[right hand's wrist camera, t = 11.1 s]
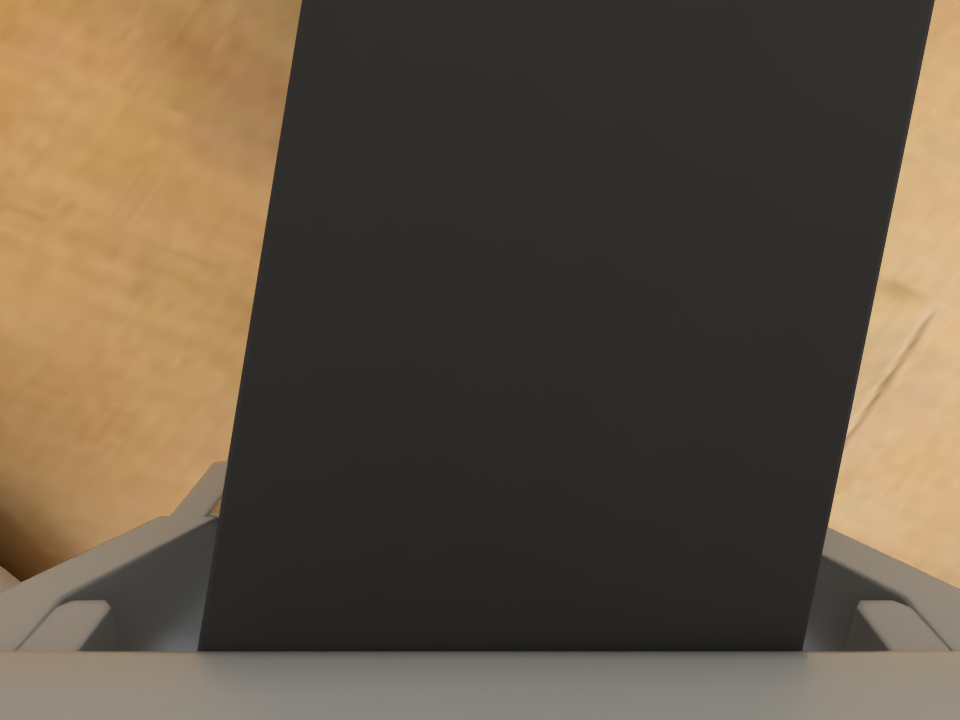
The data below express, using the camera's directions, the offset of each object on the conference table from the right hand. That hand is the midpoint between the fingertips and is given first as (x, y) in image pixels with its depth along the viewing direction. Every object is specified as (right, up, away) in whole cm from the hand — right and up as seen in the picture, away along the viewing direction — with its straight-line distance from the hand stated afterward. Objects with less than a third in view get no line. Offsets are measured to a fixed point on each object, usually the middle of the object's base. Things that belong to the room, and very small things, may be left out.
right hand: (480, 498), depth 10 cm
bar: (+2, +10, +4) cm, 11 cm away
